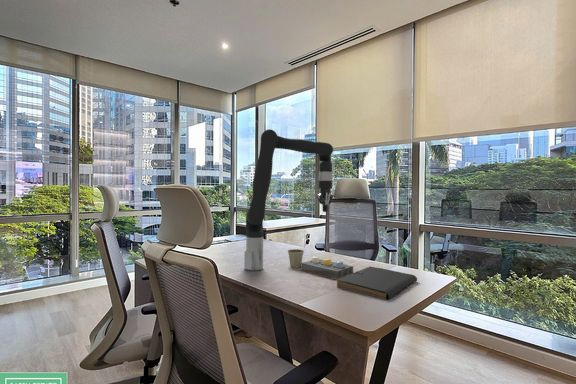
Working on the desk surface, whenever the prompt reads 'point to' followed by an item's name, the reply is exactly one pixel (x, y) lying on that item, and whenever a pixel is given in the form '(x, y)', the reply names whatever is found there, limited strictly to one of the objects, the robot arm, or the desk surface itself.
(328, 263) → the amber button
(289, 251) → the flower pot
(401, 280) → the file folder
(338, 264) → the slate button
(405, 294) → the desk surface
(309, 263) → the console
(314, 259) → the ivory button
